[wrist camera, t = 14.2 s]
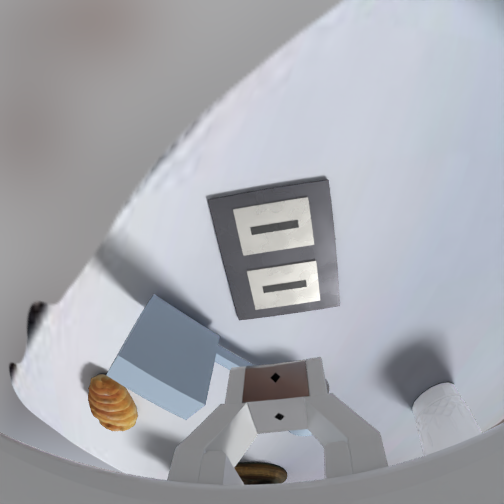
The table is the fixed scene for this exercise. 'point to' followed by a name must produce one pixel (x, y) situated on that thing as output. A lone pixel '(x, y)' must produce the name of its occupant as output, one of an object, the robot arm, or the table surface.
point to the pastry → (111, 404)
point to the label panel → (278, 249)
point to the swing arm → (172, 360)
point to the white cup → (443, 418)
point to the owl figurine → (260, 473)
